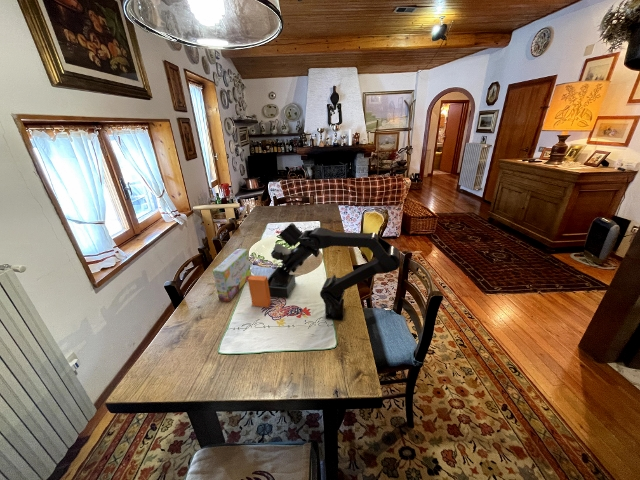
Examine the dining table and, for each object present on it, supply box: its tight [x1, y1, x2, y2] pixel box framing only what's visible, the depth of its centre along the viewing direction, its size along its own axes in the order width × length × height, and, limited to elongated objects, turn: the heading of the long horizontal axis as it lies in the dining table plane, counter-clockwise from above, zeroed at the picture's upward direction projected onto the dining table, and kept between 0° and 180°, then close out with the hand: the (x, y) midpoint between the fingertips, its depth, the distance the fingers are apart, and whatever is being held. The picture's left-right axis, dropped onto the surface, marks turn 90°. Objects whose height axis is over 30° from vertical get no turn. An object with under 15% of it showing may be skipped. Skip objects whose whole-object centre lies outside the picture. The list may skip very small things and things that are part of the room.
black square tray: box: [267, 273, 296, 299], centre depth 113 cm, size 11×11×5 cm
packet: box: [247, 274, 272, 309], centre depth 102 cm, size 7×3×13 cm, turn 78°
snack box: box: [212, 248, 252, 302], centre depth 114 cm, size 21×6×15 cm, turn 168°
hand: (275, 278), depth 98 cm, fingers open, 9 cm apart
